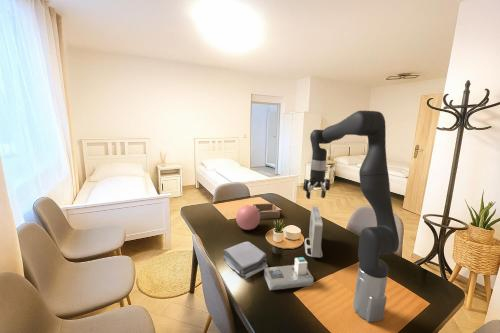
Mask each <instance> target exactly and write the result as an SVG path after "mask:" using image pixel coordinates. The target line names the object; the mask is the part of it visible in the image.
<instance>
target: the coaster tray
mask: <svg viewBox="0 0 500 333" xmlns="http://www.w3.org/2000/svg"><path fill="white" fill-rule="evenodd" d="M252 206H253V207H255V208H257V209H260V210H259V214H260V220H266V219H280V215H281V214H280V213H281V211H280V209H279V208H278V207H277V206H276V205H275V204H274V203H271V202H270V203H253V204H252Z"/></svg>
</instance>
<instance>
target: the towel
mask: <svg viewBox="0 0 500 333" xmlns="http://www.w3.org/2000/svg"><path fill="white" fill-rule="evenodd" d="M222 254H223V258H222V260H223V261H224V262H225V263H226V264H227V265H228V266H229V267H230V269H231V270H233V271H235V272H237V274H239V275H240V276H241V277H242V278H243V279H244V280H247V279H249V278H250V277H252V276H254V275H255V274H257V273H260V272H261V271H264V268H269V265H268V264H267V261H268V259H267V254H266V253H265V252H264V251H263V250H261V249H260V248H258V247H257V246H256V245H254V244H253V243H251V242H250V241H244V242H240V243H238V244H235V245H233V246H230V247H229V248H226V249H223V251H222Z"/></svg>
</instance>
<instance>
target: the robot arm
mask: <svg viewBox="0 0 500 333" xmlns="http://www.w3.org/2000/svg"><path fill="white" fill-rule="evenodd" d="M386 127H387V126H386V120H385V116H384V114H383V113H382V112H381V111H376V110H357V111H355V112H353V113H352V114H350V115H349V116H347V117H346V118H344V119H343V120H341V121H339V122H338V123H336V124H333V125H329V126H327V127H325V128H324V129H313V130H312V132H311V133H310V137H309V138H310V139H309V140H310V143H311V149H312V154H311V162H310V175H309V176H310V178H309V179H306V178H305V179H304V181H303V186H302V187H303V188H302V190H303V191H305V193H306V194H305V196H306V199H307V200H310V199H311V191H313V190H314V188H315V189H316V188H320V189H321V194H320V197H321V198H322V199H325V198H326V194H327V191H330V189H331V188H330V186H331V185H330V184H331V180H330V179H329V178H327V177H326V172H327V170H326V169H327V157H328V156H327V152H328V151H327V149H325V148H323V147H321V146H320V144H321V145H323V144H324V145H325V144H326V145H328V144H330V143H332V142H334V141H338V140H341V139H343V138H344V137H345V136H358V137H367V143H368V144H367V146H368V147H367V153H366V155H365V157H364V159H363V162H362V164H361V166H360V168H359V172H358V174H359V183H360V184H359V185H360V190H361V193H362V194H363V196H364V198H365V199H366V201H367V202H368V203H369V205H370V206H371V207H372V209H373V211H374V215H375V217H376V226H369V227H368V226H367V227H364V228H362V229H361V231H360V234H359V240H358V251H357V252H358V253H357V258H358V270H357V277H356V282H355V288H354V289H355V290H354V297H353V310H354V312H355V313H356V315H358V316H359V317H360V318H363V320H365V321H367V323H372V322H377V321H378V322H379V321H383V320H384V315H385V309H386V303H387V296H386V295H385V294H386V287H387V281H388V276H389V270H390V269H389V266H388V264H387V263H386V261H384V260H383V259H380V255H381V256H382V255H390V254H395V253H396V252H397V251H398V250H399V246H400V238H399V232H398V229H397V228H398V227H397V225H396V224H397V223H396V220H395V215H394V210H393V203H392V197H391V185H390V179H389V178H390V175H389V170H388V161H387V150H386V148H387V146H386V129H387V128H386Z"/></svg>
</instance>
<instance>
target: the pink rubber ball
mask: <svg viewBox="0 0 500 333" xmlns="http://www.w3.org/2000/svg"><path fill="white" fill-rule="evenodd" d="M259 210H260V209H257V208H255V207H253V205H249V204H247V205H243V206H240V208H239V209H238V210H237V212H236V214H235V220H236V224H237V225H238V226H239V227H240V228H241V229H242V230H246V231H250V230H251V231H252V230H254V229H255V228H257V226H258V225H260V222H261V219H260V214H259V212H260V211H261V210H260V211H259Z"/></svg>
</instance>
